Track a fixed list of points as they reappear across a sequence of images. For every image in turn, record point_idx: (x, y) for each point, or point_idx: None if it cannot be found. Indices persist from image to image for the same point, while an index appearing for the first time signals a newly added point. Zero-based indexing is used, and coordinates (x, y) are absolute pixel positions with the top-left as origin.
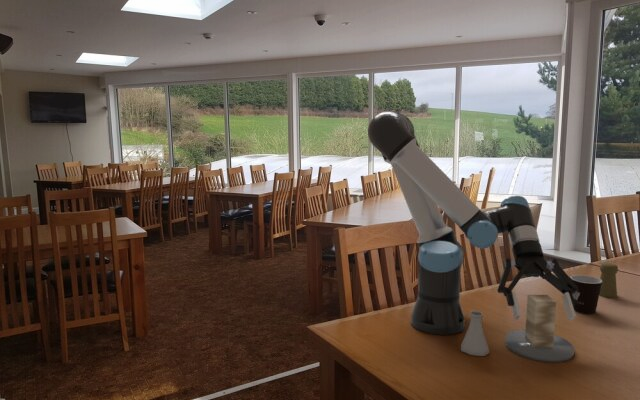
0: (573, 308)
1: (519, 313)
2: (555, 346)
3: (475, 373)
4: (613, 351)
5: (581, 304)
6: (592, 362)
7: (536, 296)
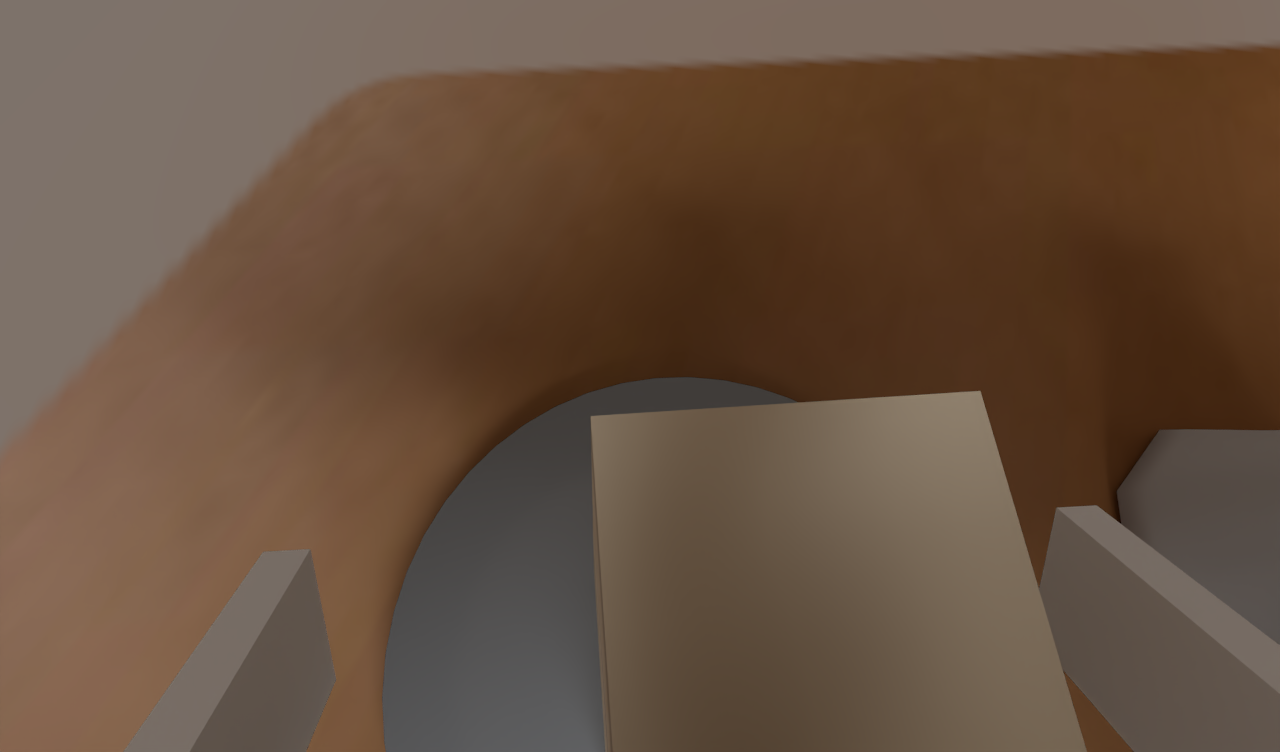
0: (205, 639)
1: (1088, 524)
2: (567, 585)
3: (1185, 223)
4: (23, 637)
5: None
6: (361, 413)
7: (920, 714)
